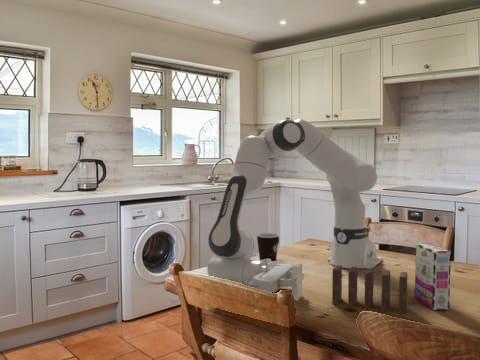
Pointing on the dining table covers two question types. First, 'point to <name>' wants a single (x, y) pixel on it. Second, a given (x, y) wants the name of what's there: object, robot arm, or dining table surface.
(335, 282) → the domino
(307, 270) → the dining table surface
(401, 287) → the domino
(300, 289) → the ivory domino
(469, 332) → the dining table surface
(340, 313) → the dining table surface
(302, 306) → the dining table surface
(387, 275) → the domino
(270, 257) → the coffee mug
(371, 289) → the domino
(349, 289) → the domino
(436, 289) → the candy bar box
